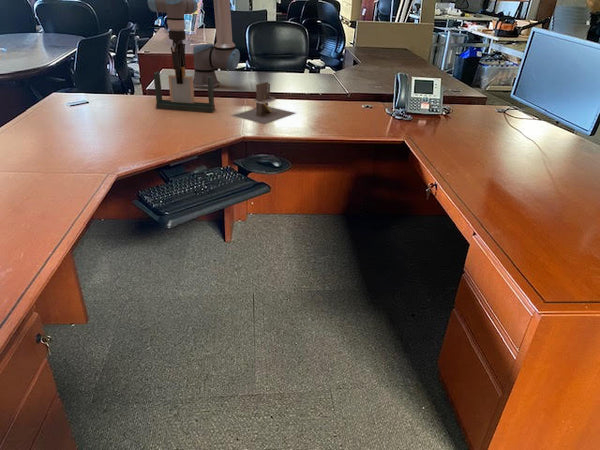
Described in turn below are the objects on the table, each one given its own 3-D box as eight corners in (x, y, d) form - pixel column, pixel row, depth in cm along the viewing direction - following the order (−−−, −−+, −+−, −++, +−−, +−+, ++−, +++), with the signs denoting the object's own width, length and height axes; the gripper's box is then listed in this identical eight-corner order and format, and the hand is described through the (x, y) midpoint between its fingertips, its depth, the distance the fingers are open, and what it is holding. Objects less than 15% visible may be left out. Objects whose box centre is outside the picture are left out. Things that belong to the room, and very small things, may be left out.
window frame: (160, 105, 222) (157, 71, 214) (214, 109, 221) (213, 75, 213) (156, 108, 217) (152, 73, 209) (211, 113, 215) (209, 77, 207)
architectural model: (295, 113, 222) (296, 83, 215) (264, 123, 204) (265, 91, 197) (264, 105, 232) (264, 76, 224) (232, 115, 213) (231, 84, 206)
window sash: (172, 101, 219) (168, 65, 211) (195, 103, 218) (192, 67, 210) (170, 103, 217) (166, 66, 208) (193, 104, 216) (190, 68, 208)
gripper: (174, 27, 208) (178, 79, 220) (162, 31, 195) (167, 86, 206) (190, 28, 208) (193, 80, 220) (179, 32, 194) (183, 87, 206)
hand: (181, 83), depth 213 cm, fingers closed on window sash, 3 cm apart
